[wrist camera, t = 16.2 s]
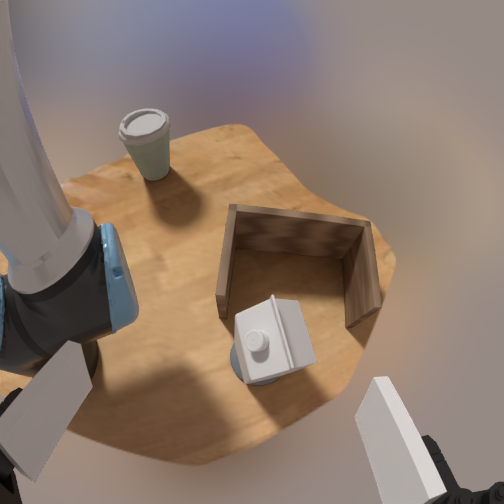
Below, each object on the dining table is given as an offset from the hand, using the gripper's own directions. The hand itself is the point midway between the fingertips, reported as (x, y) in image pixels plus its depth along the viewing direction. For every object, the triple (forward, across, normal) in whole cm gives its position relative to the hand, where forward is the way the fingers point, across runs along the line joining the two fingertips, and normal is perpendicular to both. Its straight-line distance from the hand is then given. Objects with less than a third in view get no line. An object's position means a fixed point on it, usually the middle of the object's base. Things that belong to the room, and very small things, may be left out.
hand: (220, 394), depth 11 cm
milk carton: (+26, +4, -18) cm, 32 cm away
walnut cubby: (+36, +8, -9) cm, 38 cm away
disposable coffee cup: (+53, -22, +8) cm, 58 cm away
